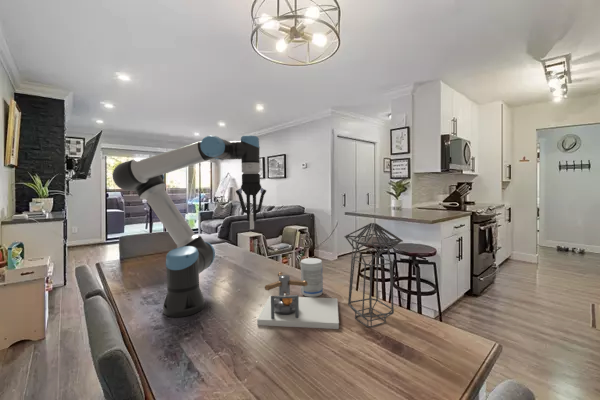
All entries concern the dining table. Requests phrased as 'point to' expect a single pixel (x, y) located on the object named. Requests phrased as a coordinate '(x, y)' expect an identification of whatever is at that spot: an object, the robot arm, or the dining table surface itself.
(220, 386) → the dining table surface
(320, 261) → the supplement tub
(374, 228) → the geometric lantern
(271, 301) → the white base plate
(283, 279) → the capstan
